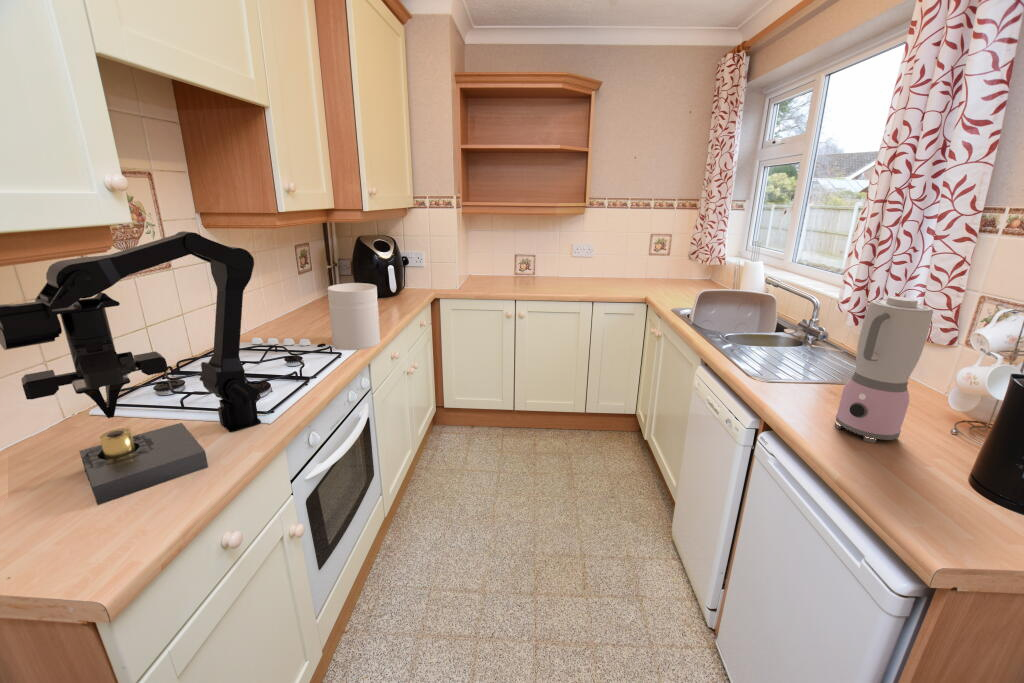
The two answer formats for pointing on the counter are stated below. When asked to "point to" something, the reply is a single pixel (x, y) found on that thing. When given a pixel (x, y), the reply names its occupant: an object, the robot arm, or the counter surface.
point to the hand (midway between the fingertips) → (110, 417)
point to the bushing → (117, 443)
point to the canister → (354, 315)
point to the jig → (144, 463)
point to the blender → (884, 368)
